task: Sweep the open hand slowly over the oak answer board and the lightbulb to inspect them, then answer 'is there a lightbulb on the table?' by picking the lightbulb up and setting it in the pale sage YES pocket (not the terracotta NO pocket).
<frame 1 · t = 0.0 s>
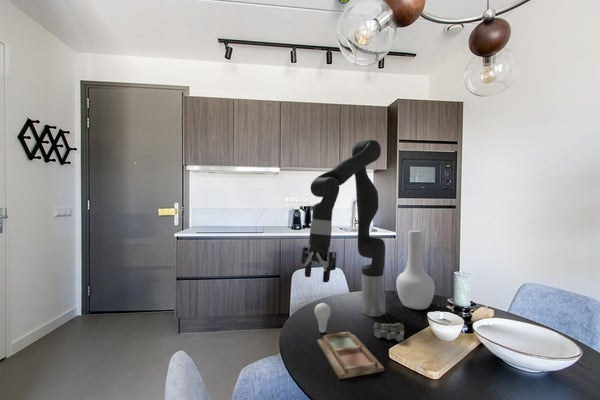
hand: (316, 279, 95), 22 cm above the table, tool pointing down, fingers open, 8 cm apart
answer board: (347, 355, 88), on the table
vase: (415, 305, 129), on the table
egg carton: (388, 336, 100), on the table
lightbulb: (322, 333, 102), on the table
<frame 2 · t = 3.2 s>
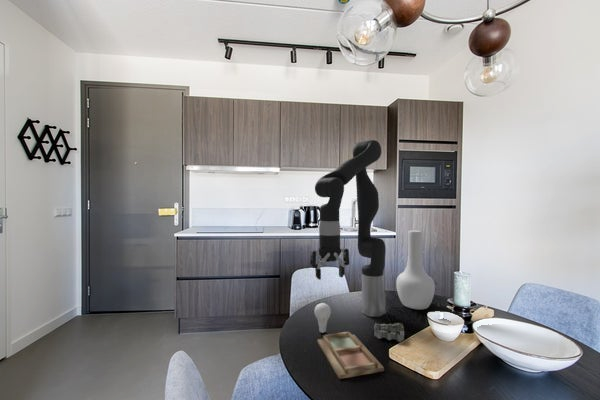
hand: (330, 277, 98), 22 cm above the table, tool pointing down, fingers open, 8 cm apart
nothing on the table moved.
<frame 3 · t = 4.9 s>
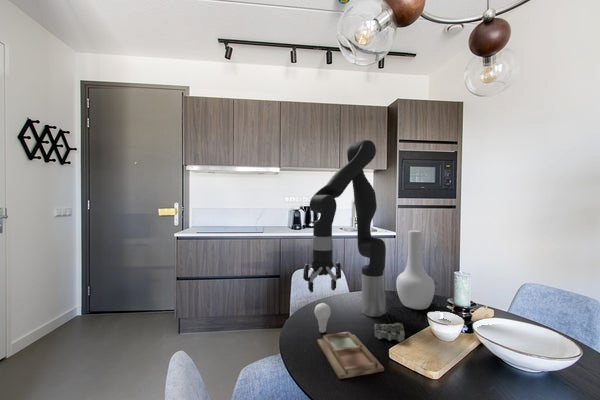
hand: (322, 290, 102), 16 cm above the table, tool pointing down, fingers open, 8 cm apart
nothing on the table moved.
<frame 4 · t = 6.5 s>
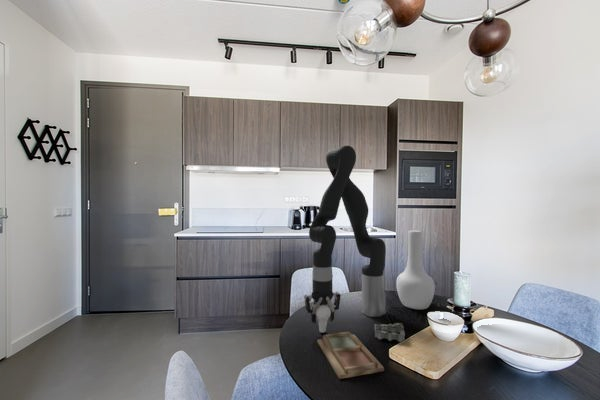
hand: (322, 321, 102), 4 cm above the table, tool pointing down, fingers closed on lightbulb, 6 cm apart
lightbulb: (322, 333, 102), on the table, touching gripper
everything else where it was.
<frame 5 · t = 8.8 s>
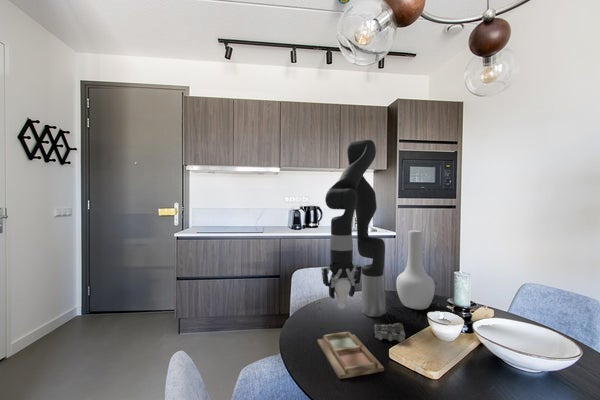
hand: (341, 296, 92), 17 cm above the table, tool pointing down, fingers closed on lightbulb, 6 cm apart
lightbulb: (341, 309, 92), point 13 cm above the table, touching gripper
everything else where it was.
when the fingers open (6 cm above the table, at t = 11.3 s): lightbulb stays where it is, resting on answer board.
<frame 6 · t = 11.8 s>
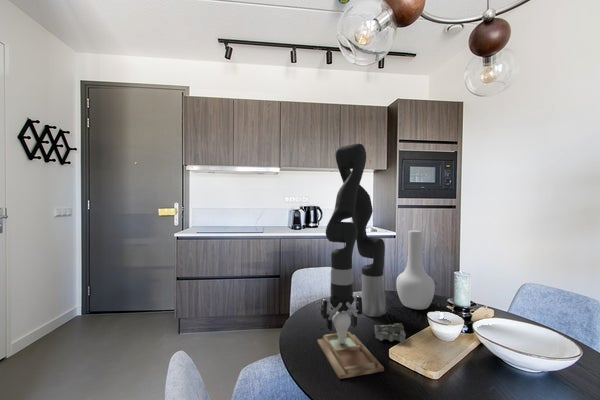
hand: (341, 328, 92), 7 cm above the table, tool pointing down, fingers open, 8 cm apart
lightbulb: (342, 344, 92), point 1 cm above the table, touching answer board
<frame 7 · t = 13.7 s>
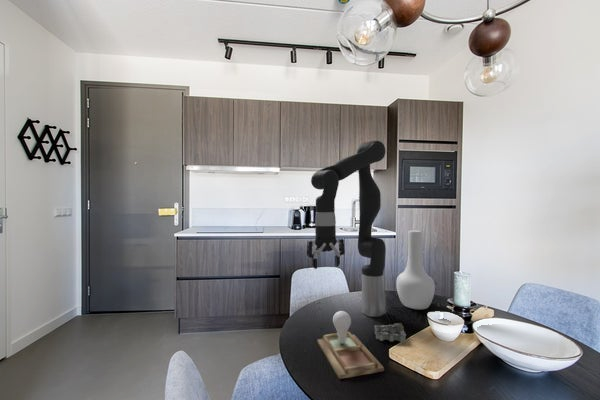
hand: (326, 267, 102), 25 cm above the table, tool pointing down, fingers open, 8 cm apart
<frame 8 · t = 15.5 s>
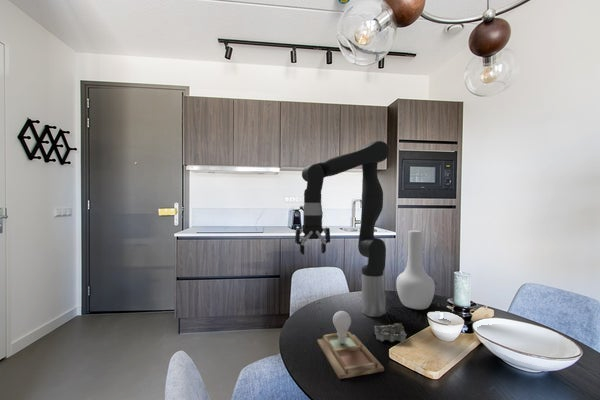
hand: (312, 253, 111), 28 cm above the table, tool pointing down, fingers open, 8 cm apart
at the end: lightbulb inside the target area on the answer board (0.2 cm from its centre), point 1.0 cm above the answer board's base; the gripper is holding nothing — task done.
